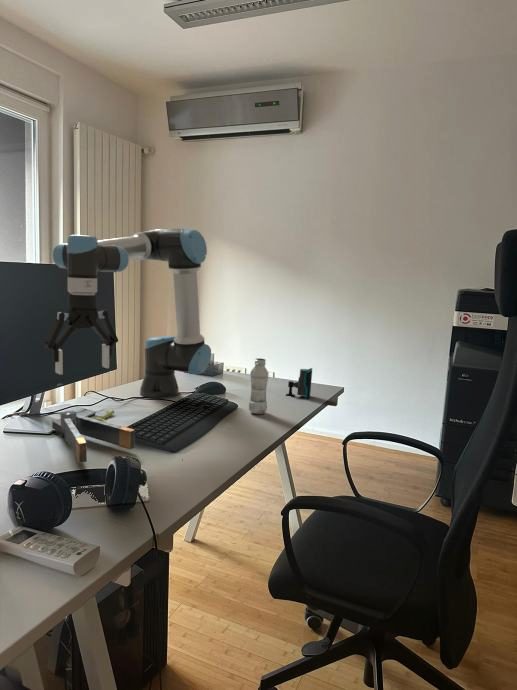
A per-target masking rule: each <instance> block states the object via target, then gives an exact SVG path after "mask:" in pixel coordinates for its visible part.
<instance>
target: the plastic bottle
mask: <svg viewBox="0 0 517 690" xmlns="http://www.w3.org/2000/svg"><path fill="white" fill-rule="evenodd" d="M266 361H267V360H266V359H265V358H257V357H256V358H254V367H253V368H251V370H250V372H249V375H250V376H249V377H250V391H251V392H250V397H249V402H248V410H249V412H250V413H251V414H255V415H263V414H265V413H266V412H267V410H268V403H267V402H268V401H267V386H268V379H269V376H270V375H269V371H268V369H267V368H266V364H267V363H266Z"/></svg>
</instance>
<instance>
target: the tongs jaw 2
mask: <svg viewBox="0 0 517 690" xmlns="http://www.w3.org/2000/svg"><path fill="white" fill-rule="evenodd" d="M76 416H77V417H76V428H77V430H78V431H79V433H80V434H81V436H82V435H83V436H85V437H89V438H91V439H95V440H98V441H102V442H104V443H108V444H112V445H116V446H118V447H121V448H123V449H127V450H132V449H135V448H136V447H135V446H136V444H135V440H136V433H135V432H136V429H134V428H129V427H125V426H121V425H117V424H115V423H114V424H113V423H109V422H103V421H99V420H96V419H92V418H93V417H88V416H84V415H76Z"/></svg>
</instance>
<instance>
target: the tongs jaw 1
mask: <svg viewBox="0 0 517 690" xmlns="http://www.w3.org/2000/svg"><path fill="white" fill-rule="evenodd" d="M64 436H65V438H66V439H65V438H64V439H65V440H66V441H67V443H68V444H69V446H70V448H71V450H72V452H73V453H74V455H75V458H76V460H77V462H78V463H79V464H82V463H87V462H88V461H87V458H88V457H87V453H88V451H87V450H88V449H87V445H88V444H87V441H86V440H85V438H84V437H83V436H82V435H81V434H80V433H79V431H78V430H77V428H76V427H75V425H74V424H73V422H72V421H71V419H70V418H67V419H64Z"/></svg>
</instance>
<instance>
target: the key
mask: <svg viewBox="0 0 517 690" xmlns="http://www.w3.org/2000/svg"><path fill="white" fill-rule="evenodd" d="M114 414H115V410H114V409H112V410H110V409H109V410H106V411H105V414H103V415H100V416H98V417H91V418H92V419H96V420H99V421H103V422H106V419H107V418H108V417H110V416H112V415H114Z"/></svg>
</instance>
